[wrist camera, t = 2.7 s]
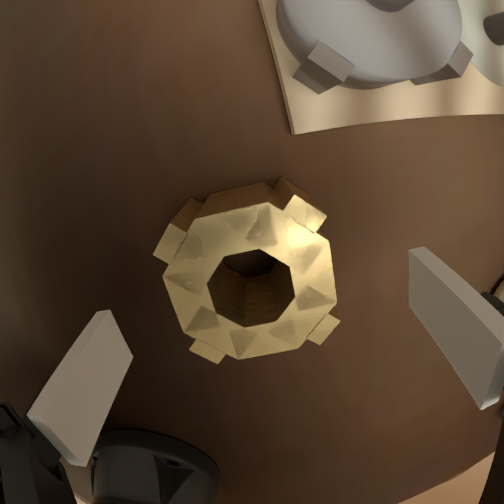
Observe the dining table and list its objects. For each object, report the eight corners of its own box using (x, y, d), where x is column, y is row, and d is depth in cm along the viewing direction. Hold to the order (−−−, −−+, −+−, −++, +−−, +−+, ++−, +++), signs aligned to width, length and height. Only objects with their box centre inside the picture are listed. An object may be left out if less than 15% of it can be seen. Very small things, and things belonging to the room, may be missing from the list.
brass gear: (207, 312, 23) (196, 367, 17) (172, 201, 20) (144, 229, 14) (321, 289, 22) (342, 339, 17) (301, 172, 19) (322, 188, 14)
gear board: (292, 134, 19) (326, 136, 10) (244, -43, 14) (241, -125, 6) (534, 113, 17) (611, 124, 9) (497, -23, 12) (561, -47, 4)
